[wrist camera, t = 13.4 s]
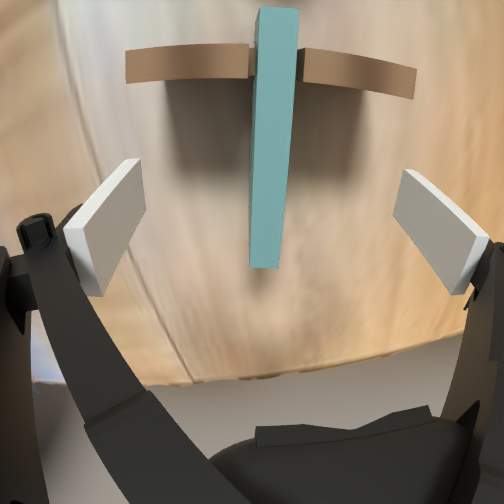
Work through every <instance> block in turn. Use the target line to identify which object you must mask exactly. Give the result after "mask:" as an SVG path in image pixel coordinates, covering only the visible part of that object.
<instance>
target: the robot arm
mask: <svg viewBox="0 0 504 504" xmlns="http://www.w3.org/2000/svg"><path fill="white" fill-rule="evenodd" d="M145 211H146V206H145V198H144V189H143V180H142V171H141V160H140V159H126V160H125V161H124V162H123V163H122V164H121V165H120V166H119V167H118V168H117V169H116V170H115V171H114V172H113V173H112V174H111V175H110V176H109V177H108V178H107V179H106V180H105V181H104V182H103V183H102V184H101V185H100V186H99V188H98V189H97V190H96V191H95V192H94V193H93V194H92V195H91V196H90V197H89V199H88V200H87V201H86V202H85V203H84V204H80V205H78V206H77V207H75V208H74V209H72V210H71V211H70V212H69V213H68V215H67V216H66V217H65V218H64V219H63V220H62V223H60V224H59V225H58V226H57V227H56V229H55V227H54V223H53V220H52V216H51V215H50V214H48V213H40V214H36V215H32V216H30V217H28V218H26V219H24V220H23V221H22V222H20V224H19V225H18V226H17V229H16V231H17V234H18V237H19V240H20V243H21V246H22V249H23V251H24V254H22V255H17V256H13V257H9V254H8V252H7V249H6V248H5V247H4V246H0V504H49V499H48V494H47V489H46V484H45V480H44V475H43V470H42V465H41V460H40V454H39V448H38V442H37V435H36V428H35V419H34V410H33V399H32V384H31V354H30V340H31V311H32V310H38V309H39V312H40V315H41V318H42V321H43V324H44V327H45V330H46V333H47V336H48V338H49V341H50V344H51V347H52V349H53V352H54V354H55V357H56V360H57V362H58V364H59V367H60V369H61V372H62V374H63V376H64V379H65V381H66V383H67V386H68V388H69V390H70V392H71V394H72V397H73V399H74V401H75V403H76V405H77V407H78V409H79V411H80V413H81V415H82V417H83V419H84V421H85V424H84V429H85V431H86V433H87V435H88V437H89V439H90V441H91V443H92V445H93V446H94V448H95V450H96V452H97V454H98V455H99V457H100V459H101V460H102V462H103V464H104V465H105V467H106V469H107V470H108V472H109V473H110V475H111V477H112V478H113V480H114V481H115V483H116V484H117V486H118V487H119V489H120V490H121V492H122V493H123V495H124V496H125V498H126V499H127V501H128V502H129V503H130V504H504V243H502V242H496V243H495V244H494V243H493V242H492V241H491V240H490V239H489V238H490V237H489V236H488V235H487V234H486V233H485V232H484V231H483V230H482V229H481V228H480V227H479V226H478V225H477V224H476V223H475V222H474V221H473V220H472V219H471V218H470V217H469V216H468V215H467V214H466V213H465V212H464V211H462V210H461V209H460V208H459V207H458V206H457V205H456V204H455V203H454V202H453V201H451V200H450V199H449V198H448V197H447V196H446V195H445V194H443V193H442V192H441V191H440V190H439V189H438V188H436V187H435V186H434V185H433V184H432V183H430V182H429V181H428V180H427V179H426V178H424V177H423V176H422V175H421V174H419V173H418V172H417V171H416V170H409V169H403V174H402V178H401V183H400V187H399V191H398V195H397V200H396V204H395V208H394V212H393V217H394V218H395V219H396V220H397V222H398V223H399V224H400V225H401V227H402V228H403V229H404V230H405V232H406V233H407V234H408V236H409V237H410V238H411V240H412V241H413V242H414V244H415V245H416V246H417V247H418V249H419V250H420V252H421V253H422V254H423V256H424V257H425V258H426V260H427V261H428V262H429V264H430V265H431V267H432V268H433V269H434V271H435V272H436V274H437V275H438V277H439V278H440V280H441V281H442V282H443V284H444V285H445V287H446V288H447V290H448V291H449V293H450V294H451V295H461V294H465V292H466V290H467V288H468V286H469V283H470V282H471V283H472V285H473V286H474V287H475V288H474V290H473V292H472V294H471V296H470V298H469V300H468V302H467V304H466V305H465V307H464V309H463V310H466V309H467V308H469V309H468V314H467V320H466V325H465V330H464V334H463V339H462V343H461V348H460V352H459V356H458V360H457V364H456V368H455V372H454V375H453V379H452V382H451V386H450V389H449V392H448V395H447V398H446V401H445V405H444V407H443V410H442V413H441V416H440V417H434V416H432V415H431V412H430V409H429V407H428V405H426V406H421V407H417V408H412V409H408V410H403V411H398V412H393V413H391V414H389V415H386V416H384V417H382V418H380V419H378V420H375V421H374V422H371V423H369V424H366V425H364V426H362V427H359V428H357V429H353V430H347V429H337V428H328V427H321V426H313V425H306V424H300V425H282V426H256V430H255V438H252V439H249V440H245V441H242V442H239V443H237V444H233V445H232V446H230V447H227V448H225V449H223V450H221V451H220V452H218V453H217V454H215V455H214V456H212V457H211V458H210V459H209V460H208V459H207V458H206V457H205V456H204V455H203V454H202V452H201V451H200V450H199V449H198V448H197V447H196V446H195V444H194V443H193V442H192V441H191V440H190V439H189V438H188V436H187V435H186V434H185V433H184V432H183V430H182V429H181V428H180V427H179V426H178V425H177V423H176V422H175V421H174V419H173V418H172V417H171V416H170V415H169V413H168V412H167V411H166V409H165V408H164V407H163V406H162V404H161V403H160V402H159V401H158V399H157V398H156V397H155V396H154V394H153V393H152V392H151V391H149V390H148V391H147V390H146V389H145V388H144V387H143V386H142V384H141V383H140V381H139V380H138V379H137V377H136V376H135V374H134V373H133V371H132V370H131V368H130V367H129V365H128V364H127V362H126V361H125V359H124V358H123V356H122V355H121V353H120V352H119V350H118V349H117V347H116V345H115V344H114V342H113V341H112V339H111V337H110V336H109V334H108V333H107V331H106V329H105V328H104V326H103V324H102V323H101V321H100V319H99V317H98V316H97V314H96V312H95V310H94V309H93V307H92V305H91V303H90V301H89V300H88V298H87V296H95V297H103V295H104V293H105V291H106V289H107V286H108V284H109V282H110V280H111V278H112V276H113V273H114V271H115V269H116V267H117V265H118V263H119V261H120V259H121V257H122V255H123V253H124V251H125V249H126V247H127V245H128V243H129V241H130V239H131V237H132V235H133V233H134V231H135V229H136V227H137V226H138V224H139V222H140V220H141V218H142V216H143V214H144V212H145Z"/></svg>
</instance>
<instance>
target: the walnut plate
mask: <svg viewBox="0 0 504 504" xmlns="http://www.w3.org/2000/svg"><path fill="white" fill-rule="evenodd" d="M125 57H126V84H129V83H138V82H148V81H160V80H175V79H197V78H248V76H255V57H256V48H249V44H193V45H176V46H164V47H154V48H145V49H137V50H129V51H125ZM416 72H417V69H415V68H411V67H407V66H403V65H399V64H395V63H391V62H387V61H382V60H378V59H373V58H368V57H363V56H358V55H352V54H346V53H340V52H334V51H327V50H319V49H311V48H303V49H299V50H297V59H296V75H295V79H297V80H299V81H302V82H311V83H320V84H328V85H336V86H343V87H350V88H356V89H362V90H368V91H374V92H379V93H384V94H389V95H394V96H399V97H403V98H408V99H412V100H413V98H414V90H415V81H416Z"/></svg>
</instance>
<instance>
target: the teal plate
mask: <svg viewBox="0 0 504 504" xmlns="http://www.w3.org/2000/svg"><path fill="white" fill-rule="evenodd" d="M298 24H299V9H294V8H283V7H269V6H260V8H259V12H258V15H257V19H256V22H255V43H256V57H255V78H253V98H252V125H251V153H250V181H249V261H250V268H279V259H280V249H281V239H282V230H283V219H284V209H285V199H286V188H287V177H288V166H289V154H290V142H291V129H292V117H293V103H294V89H295V75H296V59H297V42H298Z"/></svg>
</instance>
